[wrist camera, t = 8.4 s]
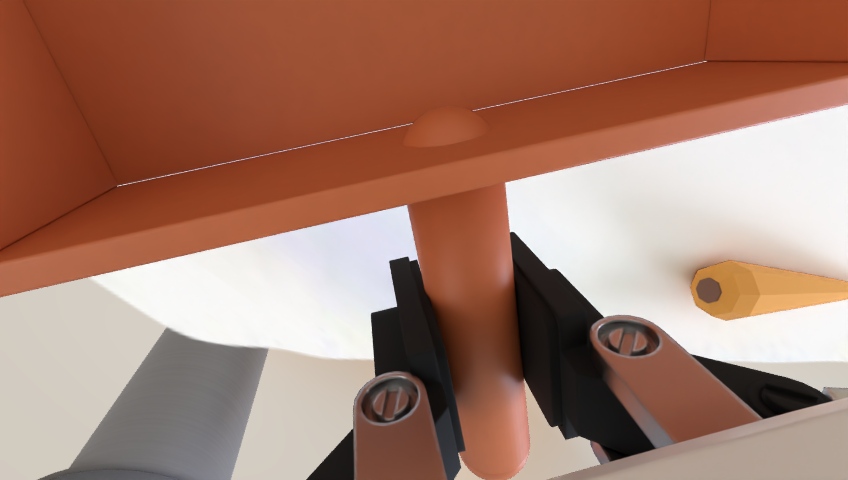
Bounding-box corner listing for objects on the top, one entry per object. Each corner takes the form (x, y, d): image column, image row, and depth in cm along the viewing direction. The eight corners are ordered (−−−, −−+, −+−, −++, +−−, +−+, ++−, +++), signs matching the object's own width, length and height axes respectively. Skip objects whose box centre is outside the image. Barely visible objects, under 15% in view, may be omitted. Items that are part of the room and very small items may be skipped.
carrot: (669, 284, 33) (705, 333, 30) (709, 246, 30) (754, 297, 27) (834, 285, 39) (878, 326, 36) (882, 253, 36) (934, 296, 33)
